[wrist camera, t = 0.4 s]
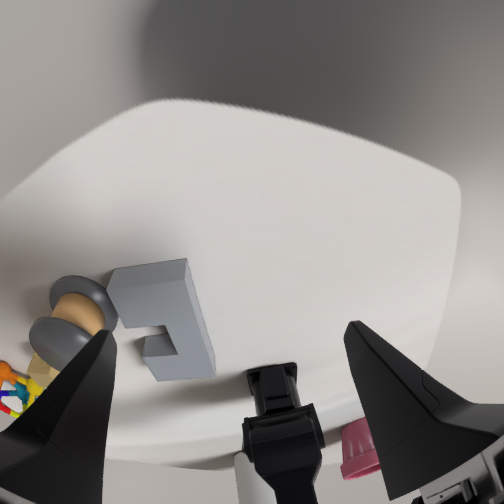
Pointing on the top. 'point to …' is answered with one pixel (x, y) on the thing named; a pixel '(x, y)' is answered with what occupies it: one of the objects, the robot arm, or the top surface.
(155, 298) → the notch board
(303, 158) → the top surface
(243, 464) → the cylinder vase
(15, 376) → the molecular model
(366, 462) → the plant pot
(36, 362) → the tan wooden block
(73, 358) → the robot arm
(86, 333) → the bobbin
